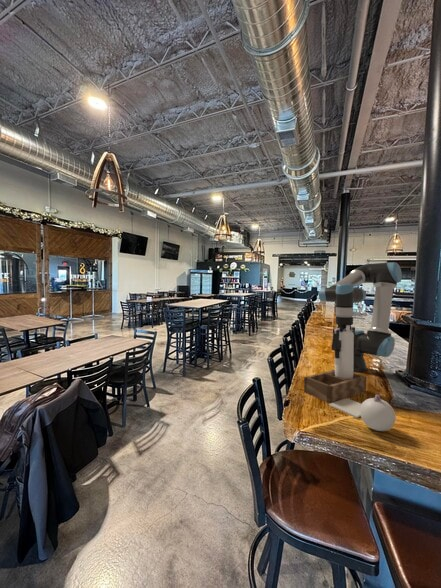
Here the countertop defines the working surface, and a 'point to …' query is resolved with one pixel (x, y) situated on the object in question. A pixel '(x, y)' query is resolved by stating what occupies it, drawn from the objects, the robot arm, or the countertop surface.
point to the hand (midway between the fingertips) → (344, 363)
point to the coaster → (348, 407)
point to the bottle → (346, 355)
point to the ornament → (377, 414)
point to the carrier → (333, 386)
